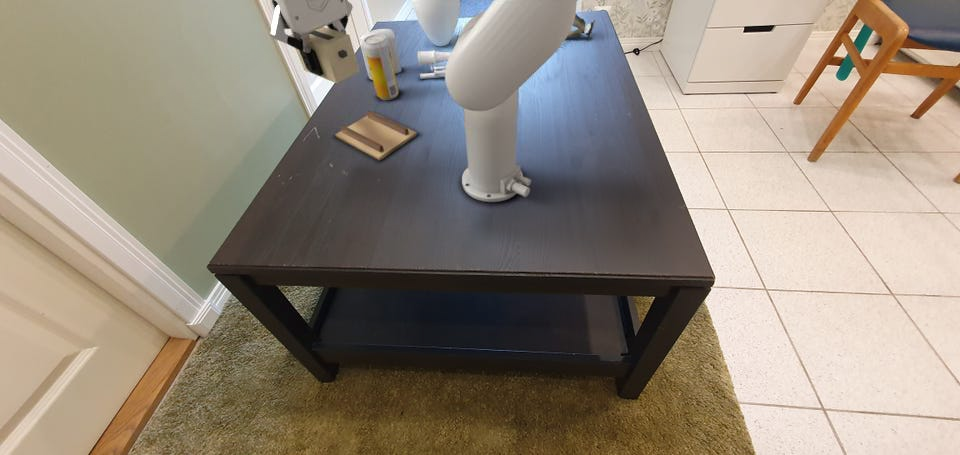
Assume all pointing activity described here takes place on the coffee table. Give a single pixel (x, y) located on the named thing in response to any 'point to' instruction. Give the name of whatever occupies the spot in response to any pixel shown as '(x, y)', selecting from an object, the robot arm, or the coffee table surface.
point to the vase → (438, 18)
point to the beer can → (381, 66)
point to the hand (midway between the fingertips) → (330, 65)
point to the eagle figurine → (580, 27)
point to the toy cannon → (433, 62)
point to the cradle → (376, 135)
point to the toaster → (333, 54)
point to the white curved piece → (392, 45)
